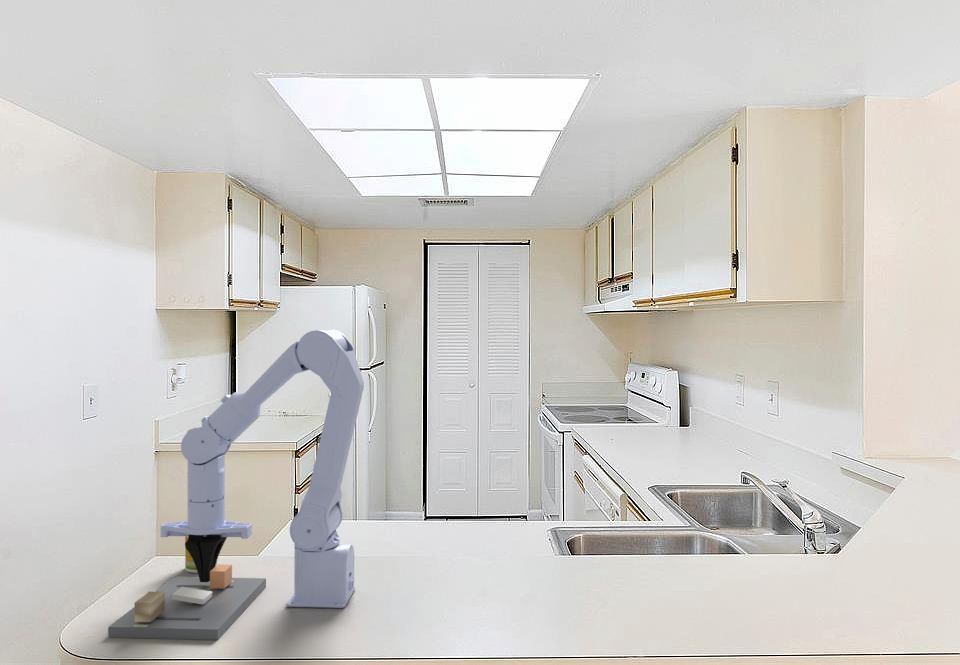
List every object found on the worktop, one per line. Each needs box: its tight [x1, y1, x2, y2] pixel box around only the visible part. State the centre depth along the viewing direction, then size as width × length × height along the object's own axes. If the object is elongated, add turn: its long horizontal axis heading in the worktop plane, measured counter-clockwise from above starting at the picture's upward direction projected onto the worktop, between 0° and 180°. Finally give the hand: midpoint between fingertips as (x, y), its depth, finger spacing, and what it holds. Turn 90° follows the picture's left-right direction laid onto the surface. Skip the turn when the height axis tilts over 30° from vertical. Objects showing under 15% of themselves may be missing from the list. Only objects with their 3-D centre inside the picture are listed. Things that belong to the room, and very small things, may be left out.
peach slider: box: [210, 564, 233, 589], centre depth 110 cm, size 2×3×3 cm
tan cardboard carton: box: [134, 591, 165, 622], centre depth 98 cm, size 2×4×3 cm, turn 178°
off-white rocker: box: [172, 587, 212, 604], centre depth 104 cm, size 5×3×1 cm, turn 88°
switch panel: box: [107, 575, 267, 641], centre depth 105 cm, size 16×19×2 cm
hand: (206, 579), depth 110 cm, fingers closed
